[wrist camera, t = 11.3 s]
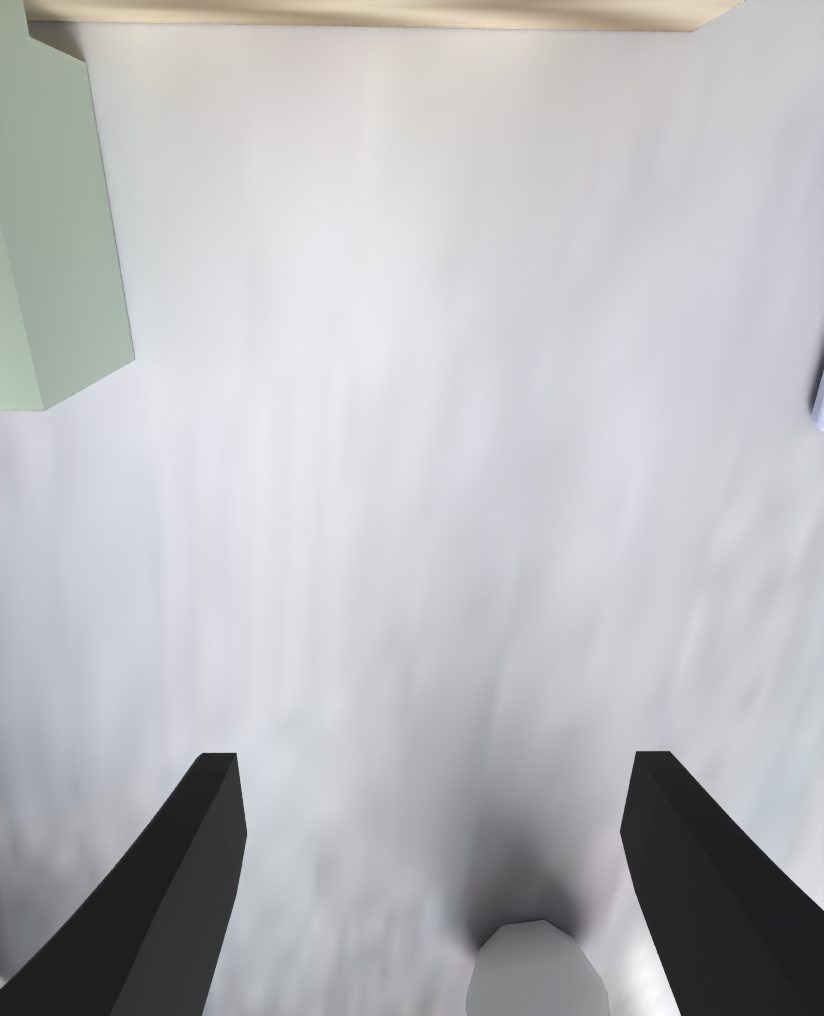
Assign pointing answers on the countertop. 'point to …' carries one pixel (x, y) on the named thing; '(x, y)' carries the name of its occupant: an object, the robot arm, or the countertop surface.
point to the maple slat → (397, 13)
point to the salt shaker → (534, 975)
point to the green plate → (53, 229)
